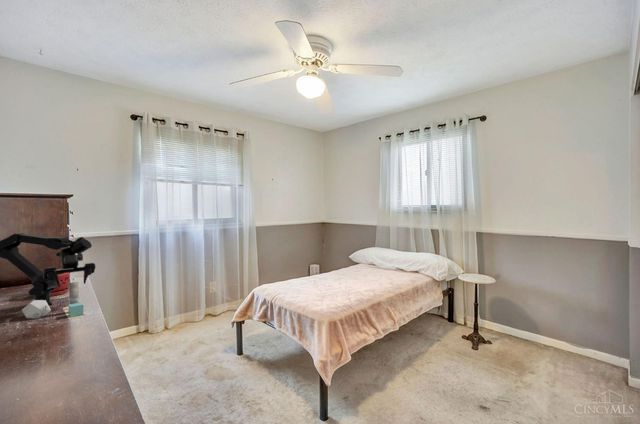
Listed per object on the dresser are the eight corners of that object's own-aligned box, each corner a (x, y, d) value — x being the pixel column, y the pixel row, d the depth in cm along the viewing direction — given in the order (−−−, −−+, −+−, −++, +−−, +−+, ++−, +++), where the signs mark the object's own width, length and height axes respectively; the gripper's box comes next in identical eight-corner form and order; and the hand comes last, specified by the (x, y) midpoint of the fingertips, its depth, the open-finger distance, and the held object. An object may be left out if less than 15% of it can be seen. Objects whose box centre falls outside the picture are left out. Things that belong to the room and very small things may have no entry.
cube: (68, 314, 128) (68, 304, 128) (81, 312, 131) (81, 302, 131) (70, 317, 125) (70, 307, 125) (83, 314, 128) (83, 304, 128)
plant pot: (44, 292, 166) (44, 271, 166) (73, 289, 172) (73, 269, 171) (33, 298, 154) (33, 276, 154) (65, 295, 160) (64, 274, 160)
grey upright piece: (62, 309, 137) (62, 280, 137) (79, 306, 141) (78, 278, 141) (68, 321, 123) (68, 288, 123) (86, 317, 128) (86, 285, 128)
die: (25, 325, 121) (44, 305, 124) (11, 314, 122) (30, 294, 125) (42, 325, 129) (60, 305, 131) (29, 314, 130) (46, 295, 133)
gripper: (43, 250, 133) (46, 278, 126) (94, 246, 147) (99, 271, 139) (42, 265, 139) (44, 293, 131) (91, 260, 152) (96, 285, 145)
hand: (72, 285), depth 137 cm, fingers open, 9 cm apart
